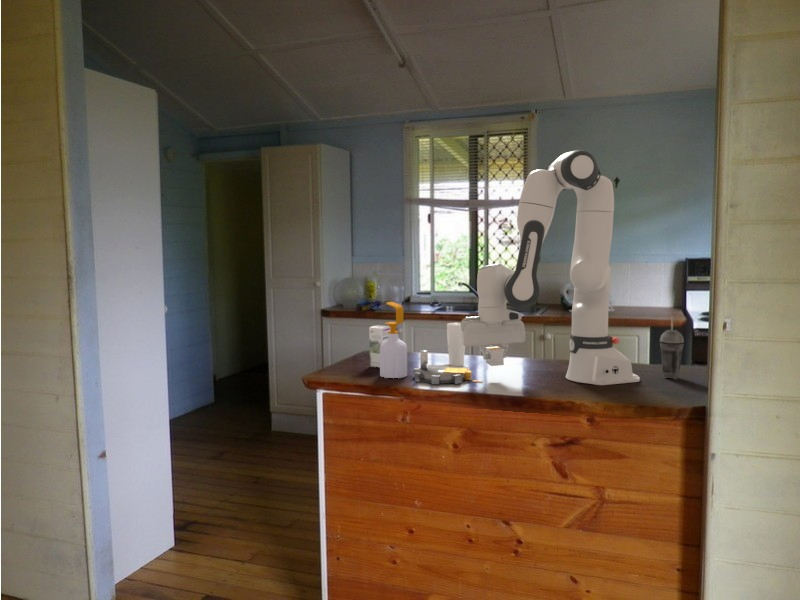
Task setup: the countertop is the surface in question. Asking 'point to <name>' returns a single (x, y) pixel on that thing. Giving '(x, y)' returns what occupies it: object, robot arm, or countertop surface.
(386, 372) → the soap bottle
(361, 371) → the countertop surface
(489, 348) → the marked link
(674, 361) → the beverage cup
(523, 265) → the robot arm
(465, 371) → the sprocket
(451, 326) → the drinking glass
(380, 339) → the syrup box
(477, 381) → the timing mark
